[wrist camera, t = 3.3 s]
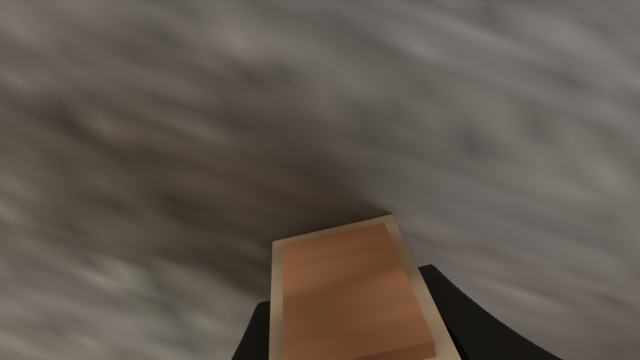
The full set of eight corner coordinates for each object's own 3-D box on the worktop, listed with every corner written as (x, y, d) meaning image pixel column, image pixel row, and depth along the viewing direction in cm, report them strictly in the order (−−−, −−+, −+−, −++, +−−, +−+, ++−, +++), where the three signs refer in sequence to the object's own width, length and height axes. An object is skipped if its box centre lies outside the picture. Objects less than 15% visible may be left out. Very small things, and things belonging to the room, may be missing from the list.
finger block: (390, 202, 13) (468, 361, 8) (408, 309, 15) (483, 502, 9) (268, 229, 13) (260, 406, 8) (300, 333, 15) (311, 539, 9)
